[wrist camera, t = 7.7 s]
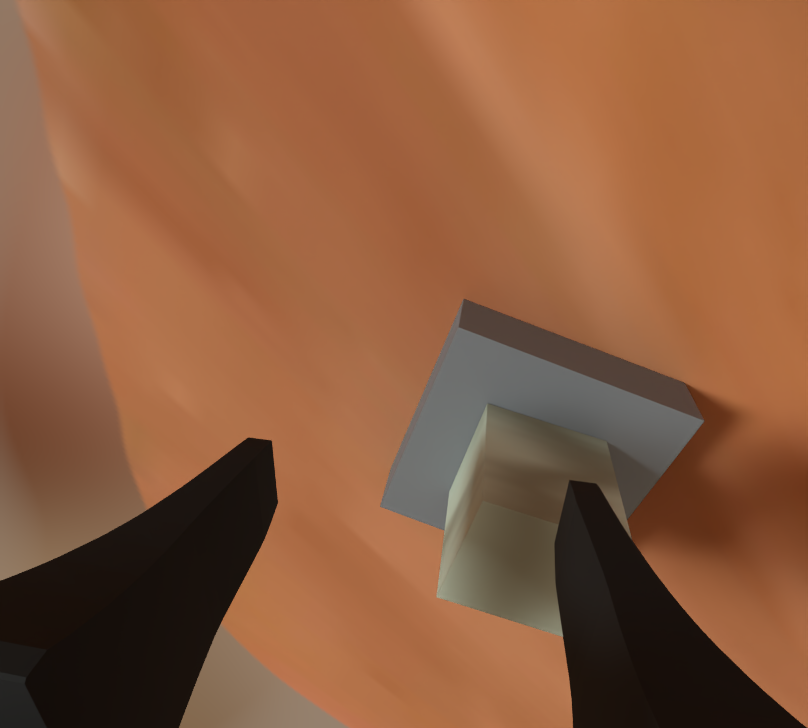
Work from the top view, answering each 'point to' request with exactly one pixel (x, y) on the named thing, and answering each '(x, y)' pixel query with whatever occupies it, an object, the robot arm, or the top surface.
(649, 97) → the top surface
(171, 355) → the top surface
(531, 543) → the sage block
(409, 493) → the plate
